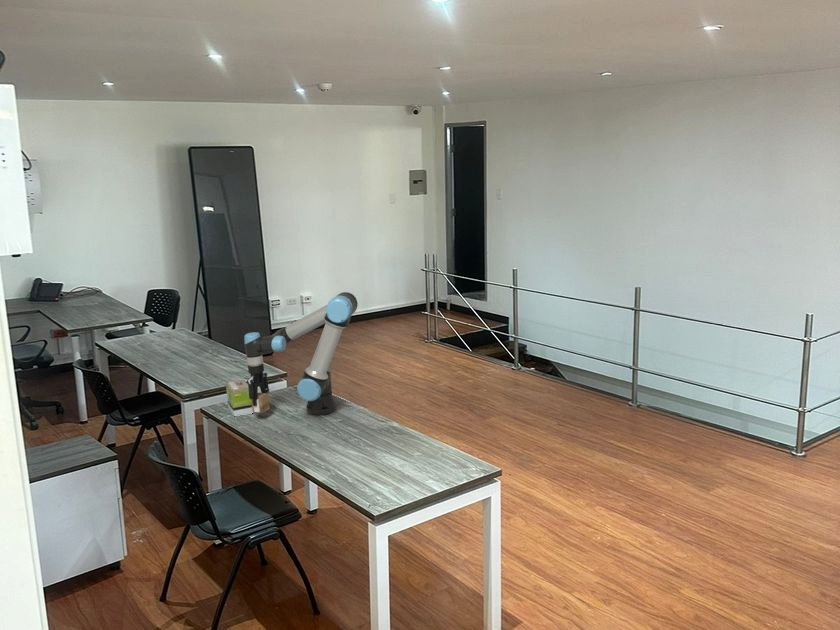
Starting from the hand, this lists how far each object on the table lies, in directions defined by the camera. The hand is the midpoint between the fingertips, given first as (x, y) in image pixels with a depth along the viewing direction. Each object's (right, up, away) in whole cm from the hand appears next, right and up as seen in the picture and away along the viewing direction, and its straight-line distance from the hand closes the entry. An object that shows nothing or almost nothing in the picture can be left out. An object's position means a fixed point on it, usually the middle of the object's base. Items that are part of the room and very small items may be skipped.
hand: (261, 409), depth 373 cm
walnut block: (0, 0, 0) cm, 0 cm away
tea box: (-13, -3, +14) cm, 20 cm away
